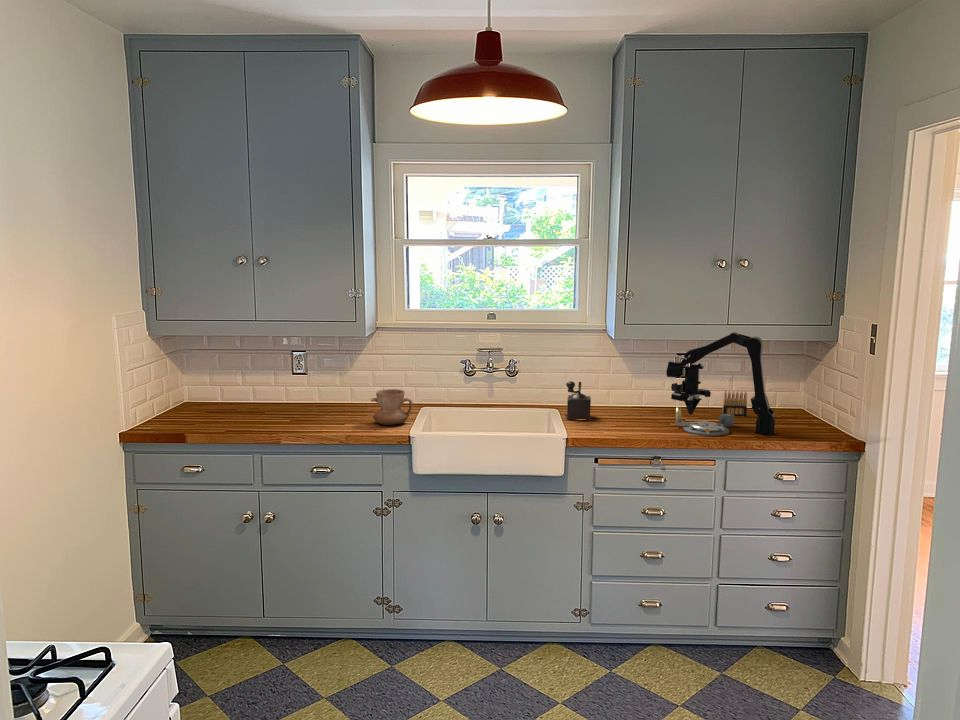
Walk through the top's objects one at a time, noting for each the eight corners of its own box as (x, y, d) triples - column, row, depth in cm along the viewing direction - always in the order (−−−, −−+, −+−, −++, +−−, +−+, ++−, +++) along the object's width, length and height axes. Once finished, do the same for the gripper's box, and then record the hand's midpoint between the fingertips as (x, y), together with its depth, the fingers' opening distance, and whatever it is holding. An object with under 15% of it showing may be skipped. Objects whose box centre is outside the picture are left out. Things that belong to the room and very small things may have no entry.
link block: (733, 426, 299) (734, 414, 298) (724, 427, 295) (725, 416, 295) (727, 424, 301) (728, 413, 300) (718, 426, 298) (719, 414, 297)
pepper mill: (565, 414, 319) (566, 376, 316) (590, 415, 317) (591, 376, 315) (564, 422, 303) (565, 382, 301) (590, 423, 302) (591, 382, 299)
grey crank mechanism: (728, 426, 292) (729, 409, 291) (722, 434, 279) (723, 416, 278) (679, 420, 302) (680, 404, 301) (671, 428, 289) (671, 411, 288)
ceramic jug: (369, 427, 292) (368, 394, 290) (372, 420, 307) (372, 388, 305) (412, 427, 293) (411, 394, 291) (413, 419, 308) (413, 388, 306)
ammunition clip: (722, 416, 317) (723, 390, 316) (721, 415, 319) (722, 389, 317) (746, 417, 316) (748, 391, 314) (745, 416, 318) (747, 390, 316)
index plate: (738, 432, 287) (738, 430, 286) (708, 438, 277) (708, 435, 277) (703, 424, 302) (703, 421, 302) (674, 429, 292) (674, 426, 292)
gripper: (691, 374, 308) (690, 408, 310) (662, 378, 298) (661, 413, 301) (712, 377, 299) (710, 413, 301) (682, 381, 289) (681, 418, 291)
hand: (690, 414), depth 299 cm, fingers closed
